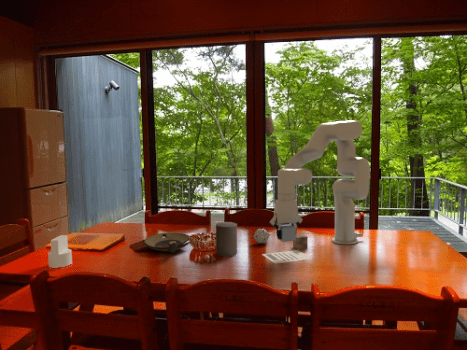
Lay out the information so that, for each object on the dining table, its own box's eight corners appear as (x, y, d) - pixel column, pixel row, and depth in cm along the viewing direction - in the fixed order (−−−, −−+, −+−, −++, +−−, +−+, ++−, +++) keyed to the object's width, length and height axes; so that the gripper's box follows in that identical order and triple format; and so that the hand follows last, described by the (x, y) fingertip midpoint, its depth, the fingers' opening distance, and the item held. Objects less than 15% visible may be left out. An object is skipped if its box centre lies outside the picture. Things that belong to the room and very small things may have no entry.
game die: (264, 252, 189) (269, 239, 183) (248, 245, 191) (252, 232, 184) (269, 239, 196) (274, 226, 190) (254, 233, 198) (258, 220, 191)
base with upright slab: (55, 262, 167) (53, 235, 166) (75, 262, 167) (74, 235, 166) (44, 269, 158) (43, 240, 157) (66, 268, 158) (64, 240, 157)
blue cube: (289, 237, 171) (289, 224, 171) (295, 240, 166) (295, 227, 165) (277, 238, 170) (277, 225, 169) (283, 242, 164) (283, 228, 163)
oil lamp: (194, 242, 197) (194, 227, 197) (185, 260, 167) (184, 242, 167) (151, 242, 198) (151, 227, 197) (134, 260, 168) (134, 243, 167)
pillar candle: (212, 255, 173) (212, 222, 171) (220, 249, 182) (220, 218, 180) (233, 257, 169) (232, 224, 168) (240, 251, 178) (240, 219, 177)
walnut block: (302, 246, 185) (302, 234, 184) (307, 249, 180) (307, 236, 180) (293, 247, 183) (293, 235, 183) (298, 250, 179) (297, 237, 178)
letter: (297, 250, 178) (297, 250, 178) (313, 259, 165) (313, 258, 165) (261, 254, 172) (261, 254, 172) (274, 263, 159) (274, 263, 159)
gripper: (299, 195, 172) (299, 234, 174) (264, 197, 167) (264, 237, 168) (308, 197, 165) (308, 238, 167) (271, 199, 160) (271, 241, 161)
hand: (286, 237), depth 168 cm, fingers closed on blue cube, 6 cm apart
